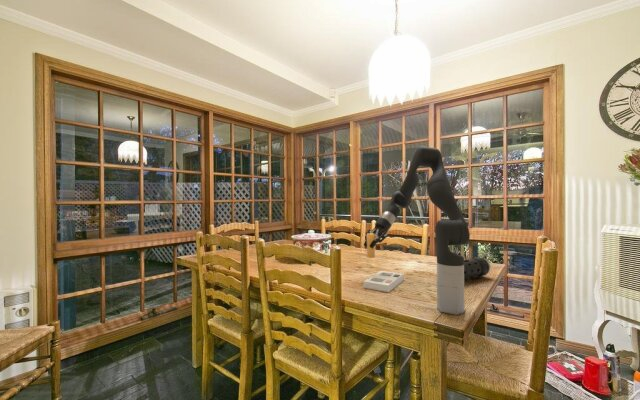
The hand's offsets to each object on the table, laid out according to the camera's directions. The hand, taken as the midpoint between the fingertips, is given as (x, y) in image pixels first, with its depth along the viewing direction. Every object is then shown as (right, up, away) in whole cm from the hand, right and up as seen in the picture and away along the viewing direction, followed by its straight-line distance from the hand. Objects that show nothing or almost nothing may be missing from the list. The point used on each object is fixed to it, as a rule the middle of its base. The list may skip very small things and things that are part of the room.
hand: (367, 246), depth 143 cm
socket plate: (+7, -17, -7) cm, 19 cm away
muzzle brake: (+48, -17, -2) cm, 51 cm away
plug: (+2, -6, +1) cm, 6 cm away
